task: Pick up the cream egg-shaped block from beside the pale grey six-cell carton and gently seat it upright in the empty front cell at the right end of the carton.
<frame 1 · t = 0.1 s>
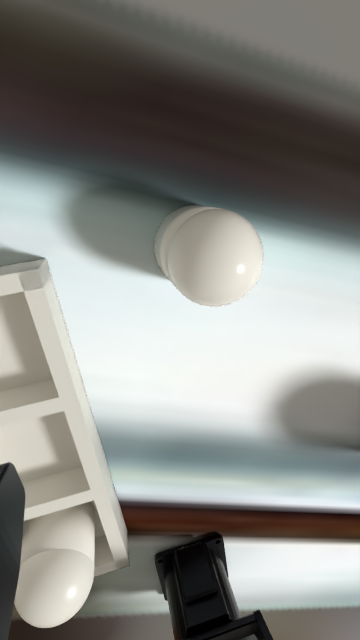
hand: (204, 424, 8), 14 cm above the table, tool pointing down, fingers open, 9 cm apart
egg: (192, 246, 22), on the table
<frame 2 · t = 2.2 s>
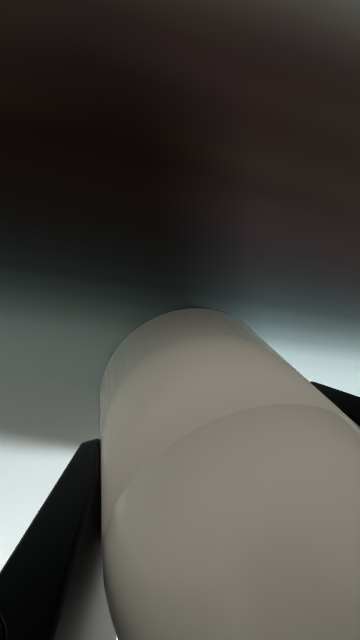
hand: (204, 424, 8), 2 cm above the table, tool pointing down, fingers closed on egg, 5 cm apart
egg: (188, 389, 10), on the table, touching gripper
when the fingers open (4 cm above the table, at t = 5.9 s): egg drops 2 cm, resting on carton.
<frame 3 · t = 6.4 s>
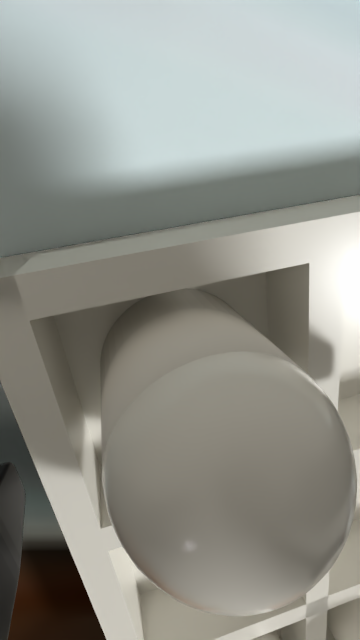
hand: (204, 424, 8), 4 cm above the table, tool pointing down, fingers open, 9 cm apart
carton: (279, 483, 15), on the table
egg: (177, 361, 11), point 1 cm above the table, touching carton
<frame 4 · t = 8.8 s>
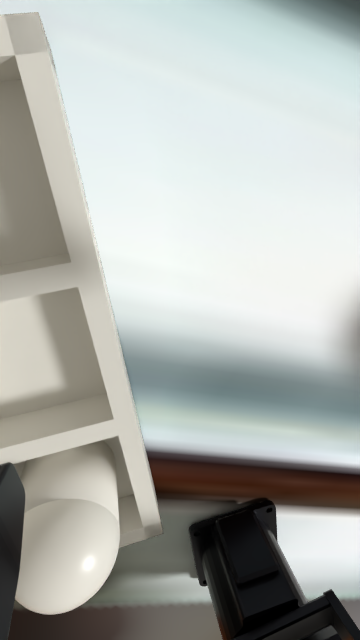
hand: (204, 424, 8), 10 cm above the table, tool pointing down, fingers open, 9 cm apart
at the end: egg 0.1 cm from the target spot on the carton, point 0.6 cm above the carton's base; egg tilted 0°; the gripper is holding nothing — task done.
